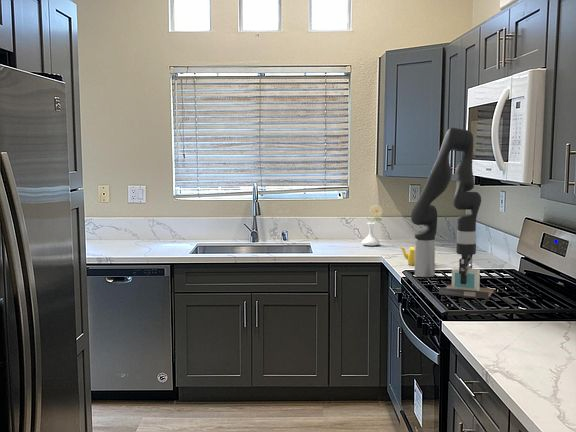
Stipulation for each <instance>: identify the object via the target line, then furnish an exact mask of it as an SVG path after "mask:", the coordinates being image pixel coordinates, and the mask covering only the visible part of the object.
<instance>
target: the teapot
mask: <svg viewBox="0 0 576 432" xmlns="http://www.w3.org/2000/svg"><path fill="white" fill-rule="evenodd" d="M399 249H401V250H402V253H403V257H404V258H405V259H406V260H407V263H408V265H409V266H414V267H415V246H410V247H409V249H408V253H407V252H406V249H405V247H403V246H402V247H401V246H399Z"/></svg>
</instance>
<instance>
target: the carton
mask: <svg viewBox="0 0 576 432" xmlns="http://www.w3.org/2000/svg"><path fill="white" fill-rule="evenodd" d="M462 271H464V270H462ZM480 273H481V269H480V268H473V267H472V268H469V270H467V281H466V284H461V283H460V279H461V275H460V274H459V267H456V266H455V267H452V269H451V285H452V289H462V290H473V291H479V288H480V287H481V286H480V282H481V281H480V280H481V279H480V277H481V274H480Z"/></svg>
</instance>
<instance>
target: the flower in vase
mask: <svg viewBox="0 0 576 432" xmlns="http://www.w3.org/2000/svg"><path fill="white" fill-rule="evenodd" d="M383 212H384V210H383V208H382V207H381V205H377V204H375V205H372V206H371V207H370V209H369V213H370V214H371V217H372V216H373V217H374V219H371V218H369V217H366V219H367V220H369V221H372V222H366V224H367V226H368V235H367V236H366V237H365V238H364V239H362V241H361V244H362V245H364V246H370V247H371V246H372V247H374V246H378V245H380V244H381V241H380V240H379V239H378V238H377V237H375V235H374V226H375V224H376V222H380V221H382V218H380V217H381V216H382V215H383ZM374 221H376V222H374Z"/></svg>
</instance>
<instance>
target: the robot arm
mask: <svg viewBox="0 0 576 432" xmlns="http://www.w3.org/2000/svg"><path fill="white" fill-rule="evenodd" d="M451 151H457V152H462V153H463V156H462V159H461V160H460V161H459V163H458V164H457V166H456V167H455V171H454V178H455V193H454V195H453V200H452V204H453V206H454V208H455V209H456V210H458V211H459V210H461V211H462V210H470V211H469V213H467V214H464V215H460V216H458V217H457V231H456V246H455V247H456V249H455V250H456V254H458V255H461V258H459V260H458V261H459V263H458V266H459V267H458V268H459V274H460V275H461V279H460V283H461V284H466V281H467V270H469V268H472V269H473V255H476V253H477V233H476V232H477V227H476V226H477V217H478V213H479V210H480V207H481V204H482V196H481V194H480V193H479V192H478V191H472V190H473V189H474V187H475V180H474V174H473V173H474V172H473V158H474V157H473V155H474V134H473V133H472V131H470V130H467V129H462V128H457V127H450V128H448V129H447V131H446V133H445V134H444V137H443V140H442V143H441V146H440V150H439V152H438V154H437V157H436V160H435V162H434V164H433V165H432V168H431V171H430V173H429V174H428V178H427V180H426V183H425V185H424V187H423V189H422V191H421V193H420V195H419V197H418V198H417V200H416V202H415V204H414V206H413V208H412V210H411V214H410V219H411V222H412V223H413V224H414V225H416V226H423V227H422V228H421V229H420V230H418V231H416V232H415V233H414V247H415V266H414V276H415V277H416V276H417V277H418V278H419V277H421V278H432V277H435V269H436V268H435V267H436V263H435V262H436V235H437V230H438V227H437V226H438V210H437V208H436V206H435V205H433V204H432V202H434V201H435V200H436V199H437V198H438V197H440V196H441V194H443V193H444V192H445V191H446V190H447V188H448V186H449V185H450V181H451V180H452V168H451V165H450V162H449V161H450V160H449V155H450V152H451ZM462 270H464V271H462Z"/></svg>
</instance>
